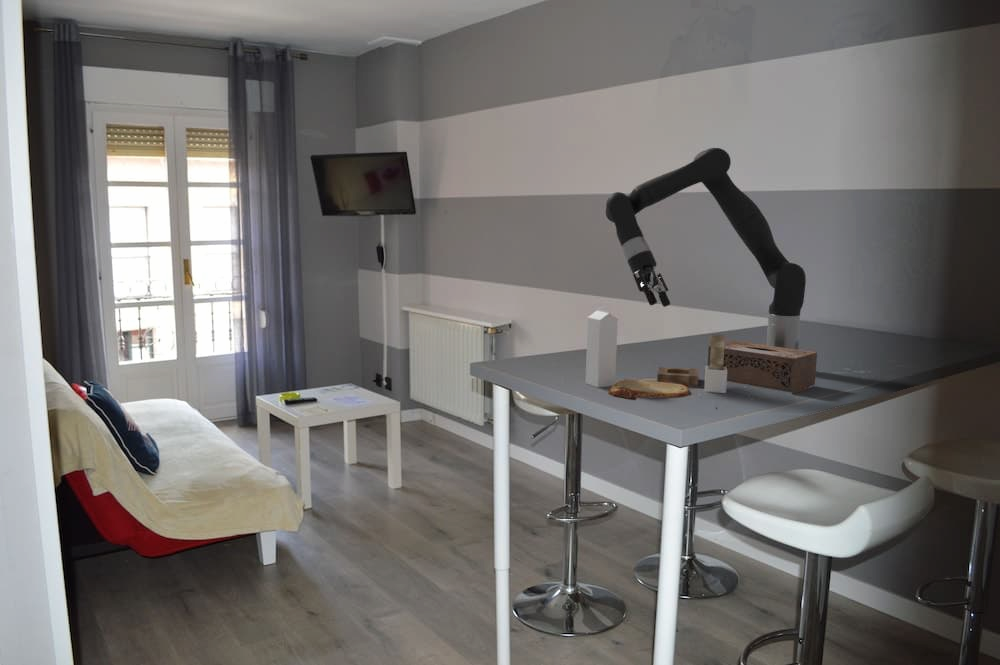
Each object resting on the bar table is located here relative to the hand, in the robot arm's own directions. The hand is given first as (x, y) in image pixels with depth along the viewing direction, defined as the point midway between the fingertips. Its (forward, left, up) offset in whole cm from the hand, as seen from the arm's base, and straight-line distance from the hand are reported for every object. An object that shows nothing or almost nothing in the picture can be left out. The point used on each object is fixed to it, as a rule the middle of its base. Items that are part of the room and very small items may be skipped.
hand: (660, 304), depth 229 cm
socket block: (-6, +6, -22) cm, 23 cm away
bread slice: (+1, +21, -22) cm, 31 cm away
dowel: (-16, +14, -21) cm, 30 cm away
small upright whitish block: (-16, +14, -22) cm, 30 cm away
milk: (+15, +14, -22) cm, 30 cm away
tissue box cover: (-29, -3, -22) cm, 36 cm away
